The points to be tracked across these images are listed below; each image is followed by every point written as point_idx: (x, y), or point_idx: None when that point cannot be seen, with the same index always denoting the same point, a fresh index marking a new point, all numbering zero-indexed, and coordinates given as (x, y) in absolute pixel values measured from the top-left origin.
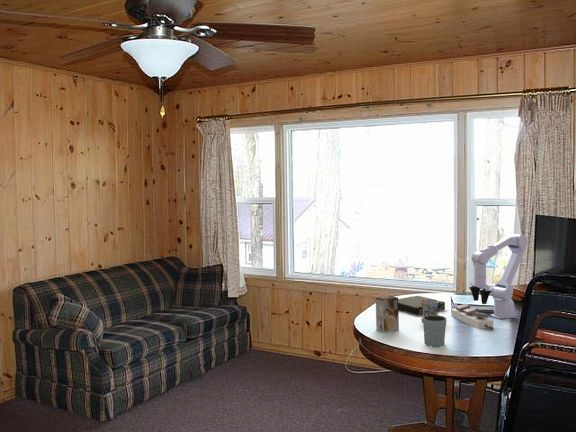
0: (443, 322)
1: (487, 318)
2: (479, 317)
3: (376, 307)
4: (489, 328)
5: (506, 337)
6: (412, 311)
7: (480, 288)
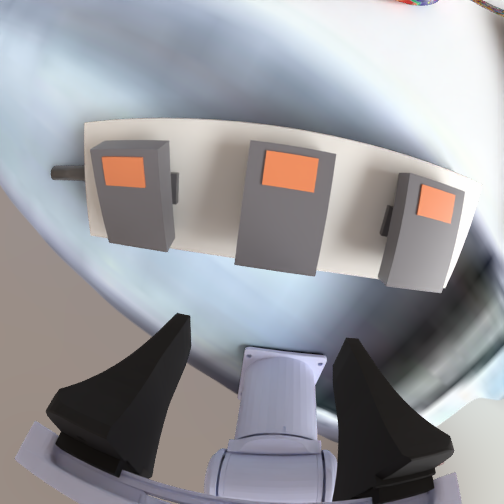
0: None
1: None
2: None
3: None
4: (68, 166)
5: (5, 175)
6: None
7: (334, 487)
